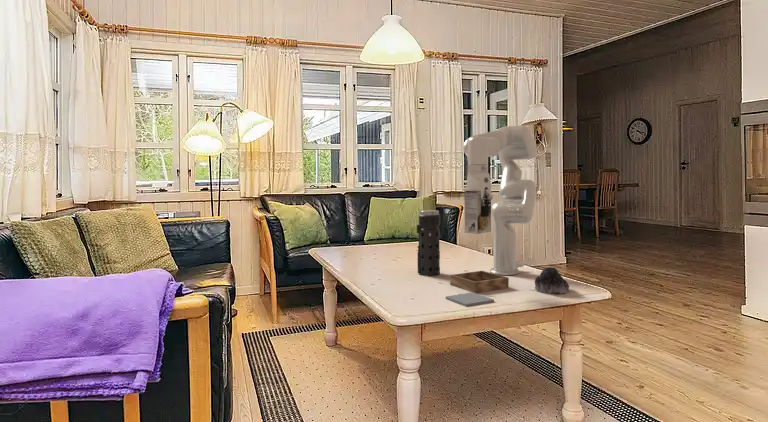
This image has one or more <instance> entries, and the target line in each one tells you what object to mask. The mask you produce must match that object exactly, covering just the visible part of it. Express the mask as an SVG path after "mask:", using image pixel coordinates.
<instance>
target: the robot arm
mask: <svg viewBox="0 0 768 422" xmlns="http://www.w3.org/2000/svg"><path fill="white" fill-rule="evenodd" d="M534 138H535V137H534V136H533V133H532V131H531V130H530V129H529V127H528V126H526V125H522V124H521V125H506V126H502V127H500V128H497V129H495V130H492V131H488V132H485V133H484V132H483V133H479V134H475V135H472V136H469V137H468V138H467V139H466V140H465V141H464V143H463V153H464V154H465V156H466V157H467V178H466V186H465V187H466V188H465V189H466V190H465V191H480V199H481V204H482V206H481V217H488V216H489V206H490V203H491V204H492V200H493V198H494V195H493V194H492V184H491V183H492V182H491V175H490V172H489V157H490V158H491V157H492V158H493V157H496V156H497V155H498V159H499V161H500V166H501V169H502V174H501V178H500V185H499V191H498V196H499V198H500V199H501V200H500V201H496V202H495V203H494V204H493V205H491V219H492V223H493V267H491V268H490V269H489V273H493V274H496V275H500V276H515V275H518V274H520V270H519V268H523V267H524V266H525V264H524V262H518V261H516V259H517V254H516V252H517V247H516V246H517V233H516V230H515V229H514V227H513V225H512V224H520V225H521V224H525V225H526V224H529V223H531V221H532V219H533V217H534V216H533V215H534V208H535V205H536V199H537V197H536V196H537V185H536V183H535V181H533V180H531V179H522V176H523V171H522V169H521V167H520V166H519V165H518V163H516V162H515V160H533V159H534V158H535V157H536V156H537V152H538V147H537V143H536V141H535V139H534ZM483 196H484V197H485V198H483ZM463 197H464V198H465V192H463ZM484 201H485V202H484Z"/></svg>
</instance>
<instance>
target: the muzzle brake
mask: <svg viewBox="0 0 768 422" xmlns="http://www.w3.org/2000/svg"><path fill="white" fill-rule="evenodd" d="M440 225H441V214H440V211H439V210H438V209H424V210H423V209H422V210H420V211H419V214H418V224H416V233H417V234H418V245H417V274H419V275H420V276H423V277H424V276H425V277H436V276H439V275H441V267H440V264H441V263H440V262H441V261H440V259H441V254H440V253H441V251H440V238H441V233H440V232H441V230H440V228H439V226H440Z"/></svg>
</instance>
